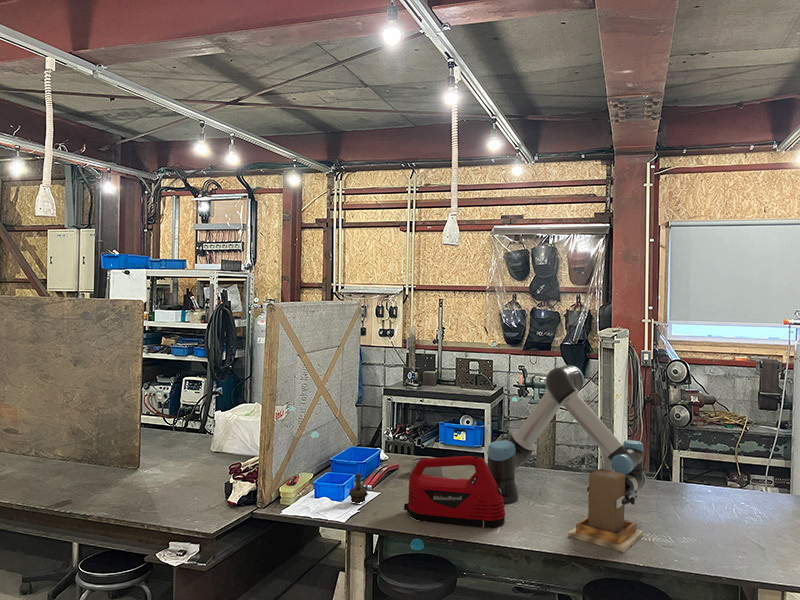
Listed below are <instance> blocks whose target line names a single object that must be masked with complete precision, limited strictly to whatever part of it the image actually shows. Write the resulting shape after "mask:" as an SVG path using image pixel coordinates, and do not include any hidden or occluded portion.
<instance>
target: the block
mask: <svg viewBox="0 0 800 600" xmlns="http://www.w3.org/2000/svg"><path fill="white" fill-rule="evenodd" d="M588 486H589V501H588V505H587V506H588V512H587V516H588V526H589V527H593V528H597V529H600V530H604V531H608V532H611V533H616V532H617V531H619V530H620V529H622V528H623V527H624V520H625V505H626V504H625V505H622V506H621V507H619V508H616V500H617V499H619V498H620V497H622V496H625V474H623V473H619V472H615V471H614V470H609V469H605V468H599V469H596V470H594V471H591V472H590V473H589V474H588Z"/></svg>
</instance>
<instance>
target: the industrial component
mask: <svg viewBox="0 0 800 600" xmlns="http://www.w3.org/2000/svg"><path fill="white" fill-rule="evenodd" d="M348 495H349V497H350V502H351V501H352V502H355V503H360V502H363V501H365V502H366V498H367V496H368V495H369V493H368V489H366V488H364V487H362V474H361V473H356V474H355V487H352V488H351V489H349V492H348ZM352 502H351V503H352Z"/></svg>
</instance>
